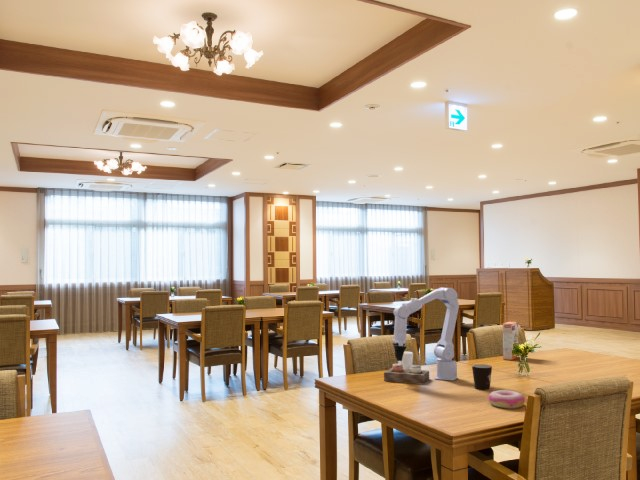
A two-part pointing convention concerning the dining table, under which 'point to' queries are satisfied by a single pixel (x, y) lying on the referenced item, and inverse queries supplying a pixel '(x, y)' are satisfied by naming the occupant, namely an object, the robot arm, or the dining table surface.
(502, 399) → the donut
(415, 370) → the white domed canister
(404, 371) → the housing
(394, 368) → the plunger
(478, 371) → the coffee mug
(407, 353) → the white cup
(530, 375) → the dining table surface
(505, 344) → the cracker box
